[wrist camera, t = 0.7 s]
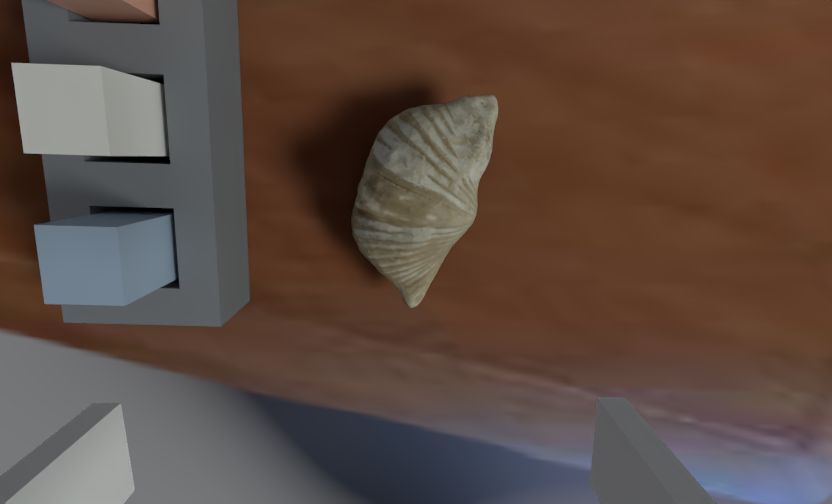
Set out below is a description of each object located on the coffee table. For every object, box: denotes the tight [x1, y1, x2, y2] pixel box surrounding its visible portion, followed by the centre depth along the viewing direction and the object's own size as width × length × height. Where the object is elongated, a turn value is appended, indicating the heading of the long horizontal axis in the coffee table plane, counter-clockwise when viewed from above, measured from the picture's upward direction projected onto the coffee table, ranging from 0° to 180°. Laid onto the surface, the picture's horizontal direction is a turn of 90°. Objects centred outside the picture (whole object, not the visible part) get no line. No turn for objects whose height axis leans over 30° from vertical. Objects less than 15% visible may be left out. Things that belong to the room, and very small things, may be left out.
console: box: [22, 0, 250, 327], centre depth 32 cm, size 28×11×6 cm, turn 178°
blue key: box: [34, 211, 179, 306], centre depth 29 cm, size 5×5×7 cm
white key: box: [11, 63, 170, 156], centre depth 28 cm, size 5×5×7 cm
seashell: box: [351, 95, 498, 308], centre depth 34 cm, size 14×9×10 cm
